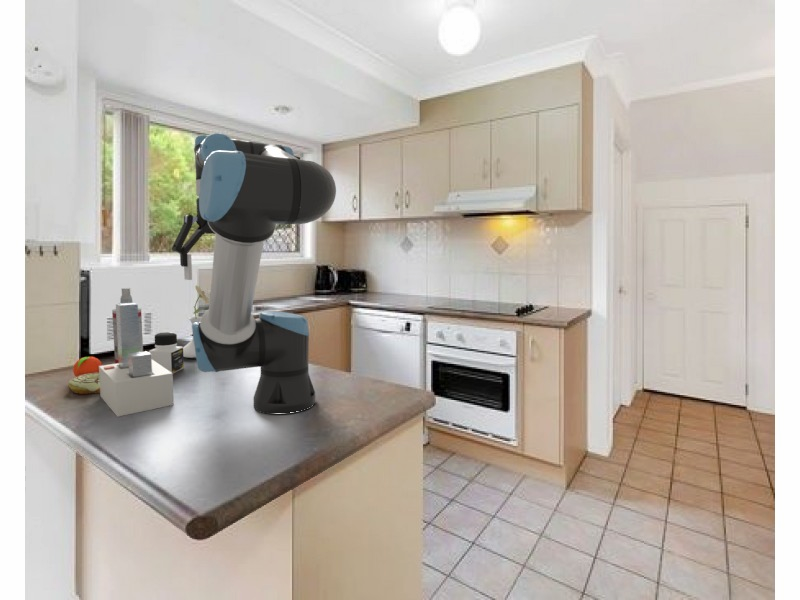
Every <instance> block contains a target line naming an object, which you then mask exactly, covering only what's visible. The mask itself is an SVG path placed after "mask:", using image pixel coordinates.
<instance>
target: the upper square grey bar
mask: <svg viewBox="0 0 800 600" xmlns="http://www.w3.org/2000/svg"><path fill="white" fill-rule="evenodd" d="M138 308H139V304H138V303H135V302H133V303H115V309H116V320H117V339H118V358H119V368H120V369H125V368H129V365H128V353H136V352H140V343H139V321H138Z"/></svg>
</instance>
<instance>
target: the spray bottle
mask: <svg viewBox="0 0 800 600" xmlns="http://www.w3.org/2000/svg"><path fill="white" fill-rule="evenodd" d="M119 299H120V303H134V302H133V297H132V295H131V288H130V287H127V288H126V287H125V288H121V296H120V298H119ZM120 303H119V304H120ZM111 311H112V315H111V316H112V331H113V348H114V351H113V352H114V364H117V363H119V358H118V339H117V320H116V308H114V309H112V310H111ZM142 317H143V315H142V308H140V307H138V321H139V343H140V352H143V351H144V345H143V343H144V341H143V339H144V338H143V322H142V320H143V319H142Z"/></svg>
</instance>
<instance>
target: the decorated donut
mask: <svg viewBox="0 0 800 600" xmlns="http://www.w3.org/2000/svg"><path fill="white" fill-rule="evenodd" d="M68 387H69V388H70V390H71V391H72V392H73V393H76V394H78V393H79V394H78V395H89V394H100V378H99V373H89V374H83V375H80V376H78V377H76V376H74V377H73V378H71V379H70V380H69V382H68Z"/></svg>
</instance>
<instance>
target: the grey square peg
mask: <svg viewBox="0 0 800 600" xmlns="http://www.w3.org/2000/svg"><path fill="white" fill-rule="evenodd" d="M128 365H129V377H131V378H137V377H143V376H149V375H152V360H151V354H150V353H149V351H146V350H145V351H144V350H143V352H136V353H128Z"/></svg>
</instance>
